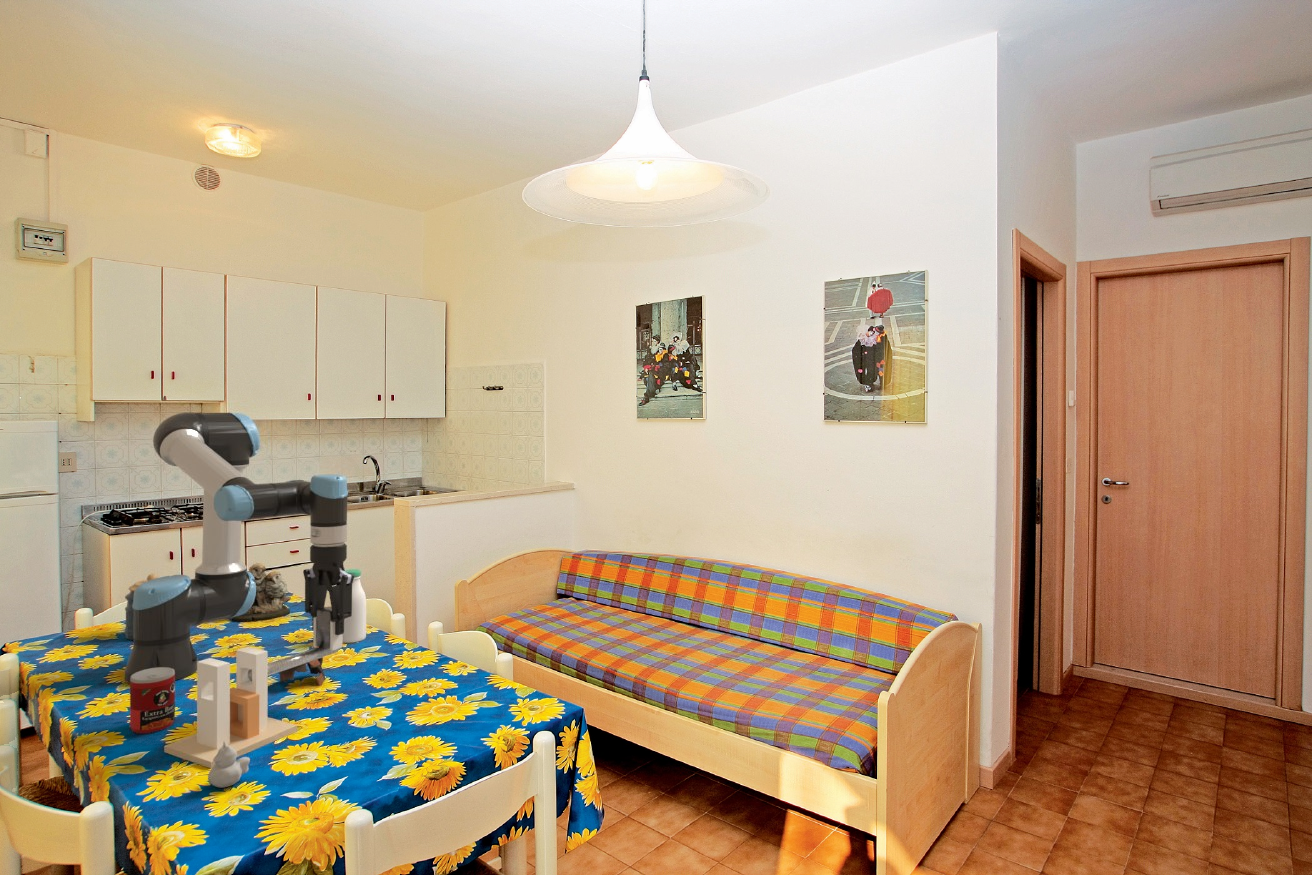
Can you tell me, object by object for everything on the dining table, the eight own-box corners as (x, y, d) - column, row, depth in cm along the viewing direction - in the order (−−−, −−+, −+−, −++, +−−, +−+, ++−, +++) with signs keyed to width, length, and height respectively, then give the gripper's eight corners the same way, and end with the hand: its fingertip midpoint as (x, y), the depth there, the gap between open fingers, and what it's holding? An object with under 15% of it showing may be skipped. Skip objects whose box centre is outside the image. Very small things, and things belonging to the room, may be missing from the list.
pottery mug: (318, 692, 173) (298, 664, 171) (285, 706, 174) (265, 679, 172) (340, 662, 184) (322, 636, 182) (310, 676, 186) (291, 650, 184)
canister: (168, 625, 222) (168, 567, 221) (187, 633, 214) (187, 573, 214) (117, 635, 211) (117, 574, 211) (135, 644, 204) (135, 581, 203)
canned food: (141, 737, 146) (141, 682, 146) (122, 727, 151) (122, 674, 150) (182, 724, 153) (182, 671, 153) (163, 715, 157) (163, 664, 157)
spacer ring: (221, 730, 147) (221, 691, 147) (232, 726, 149) (233, 687, 149) (247, 739, 144) (247, 698, 144) (259, 734, 146) (259, 694, 146)
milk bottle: (371, 638, 213) (372, 569, 212) (348, 645, 206) (348, 574, 206) (355, 633, 217) (355, 566, 216) (331, 640, 210) (331, 570, 210)
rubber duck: (203, 785, 128) (203, 740, 128) (243, 772, 133) (244, 728, 133) (214, 796, 125) (214, 749, 125) (255, 782, 130) (255, 737, 129)
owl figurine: (230, 625, 223) (230, 570, 222) (223, 617, 232) (222, 563, 231) (294, 615, 235) (294, 562, 234) (285, 608, 243) (284, 557, 243)
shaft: (259, 682, 148) (259, 631, 147) (244, 679, 150) (244, 628, 149) (343, 653, 166) (343, 608, 166) (328, 650, 168) (329, 605, 168)
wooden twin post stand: (164, 752, 140) (164, 664, 140) (251, 717, 157) (251, 638, 156) (211, 768, 134) (211, 676, 134) (297, 731, 150) (297, 649, 150)
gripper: (286, 542, 165) (286, 645, 166) (343, 550, 157) (342, 657, 158) (315, 537, 172) (314, 636, 172) (370, 544, 164) (369, 648, 165)
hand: (327, 646), depth 165 cm, fingers closed on shaft, 5 cm apart
